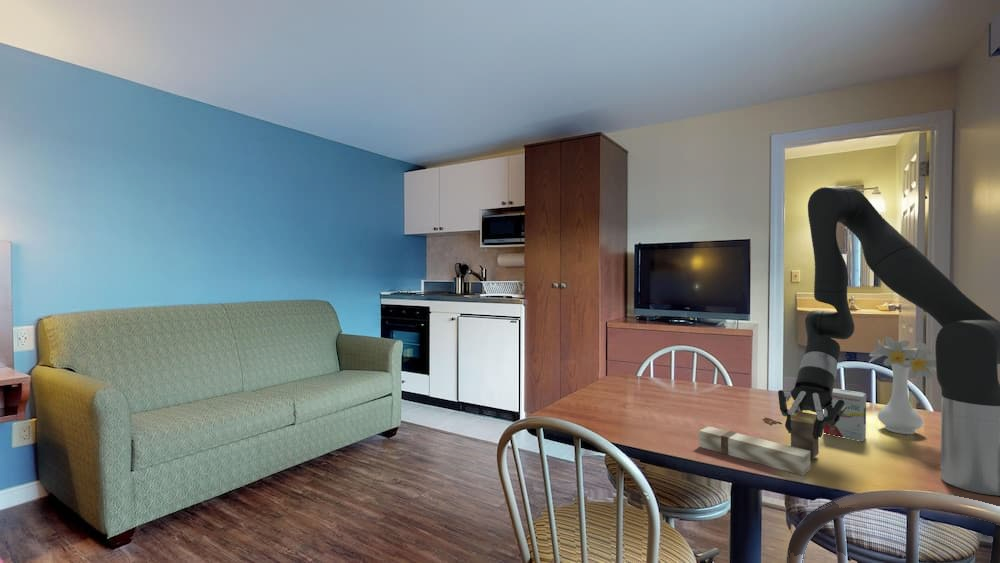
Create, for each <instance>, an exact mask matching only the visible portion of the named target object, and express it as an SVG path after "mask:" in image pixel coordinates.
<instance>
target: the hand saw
mask: <svg viewBox="0 0 1000 563" xmlns="http://www.w3.org/2000/svg"><path fill="white" fill-rule="evenodd" d="M761 420H762V421H763V423H765V424H768V425H769V426H773V425H778V424H779V423H780V425H783V422H781V421H777V420H774V419H772V418H769V417H764V418H762V419H761Z"/></svg>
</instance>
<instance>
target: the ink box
mask: <svg viewBox="0 0 1000 563" xmlns="http://www.w3.org/2000/svg"><path fill="white" fill-rule="evenodd" d="M832 398H833V399H835V400H843V401H844V403H845V406H846V409H845V411H844V412H843V414H842V415H841V417H840V418H839V420H838V421H837V423H836V424H835V425H834V426H831V425H825V426H824V429H823V433H826V434H830V435H829V436H831V435H835V436H840V437H845V438H849V439H848V440H850V439H854V440H853V441H855V440H859V441H858V442H860V441H863V442H864V441H865V440H864V439H866V438H865V437H866V434H867V433H866V431H867V428H866V427H867V426H866V425H867V394H866V393H865V392H862V391H853V390H850V389H849V390H847V389H840V388H835V387H834V388H833V392H832ZM832 405H833V404H831V405H829V406H828V407H826V408H825V409H823V413H824V417H827V416H828V415H829V413H830V412H831V410H832V409H833V406H832ZM826 434H825V435H826ZM835 436H834V437H835ZM840 437H839V438H840ZM845 438H844V439H845Z"/></svg>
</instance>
